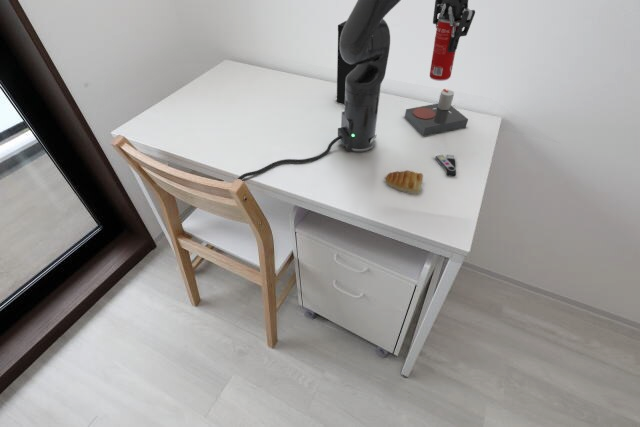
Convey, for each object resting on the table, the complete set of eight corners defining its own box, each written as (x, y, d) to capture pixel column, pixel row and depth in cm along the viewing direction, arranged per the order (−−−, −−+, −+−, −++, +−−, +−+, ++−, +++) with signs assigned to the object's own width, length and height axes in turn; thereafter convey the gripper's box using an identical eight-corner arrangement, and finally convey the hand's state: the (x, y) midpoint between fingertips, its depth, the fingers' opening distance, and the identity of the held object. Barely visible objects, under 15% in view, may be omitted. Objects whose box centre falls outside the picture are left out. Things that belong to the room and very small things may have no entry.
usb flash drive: (455, 176, 89) (456, 173, 88) (434, 174, 90) (435, 171, 89) (454, 157, 95) (455, 154, 94) (434, 155, 96) (435, 152, 95)
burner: (419, 120, 104) (420, 120, 104) (409, 110, 108) (409, 109, 108) (439, 117, 105) (439, 116, 105) (428, 107, 110) (428, 106, 110)
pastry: (382, 190, 86) (384, 178, 83) (386, 174, 90) (388, 162, 88) (420, 196, 84) (423, 184, 81) (422, 179, 89) (425, 168, 86)
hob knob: (452, 108, 108) (457, 93, 105) (442, 111, 108) (446, 95, 104) (445, 103, 111) (449, 87, 107) (434, 105, 110) (438, 90, 106)
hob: (423, 136, 103) (425, 127, 101) (402, 116, 112) (404, 107, 110) (468, 127, 106) (471, 118, 104) (445, 108, 115) (447, 99, 113)
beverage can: (450, 82, 94) (466, 23, 83) (426, 80, 95) (439, 21, 84) (449, 73, 98) (464, 16, 87) (426, 72, 99) (438, 15, 88)
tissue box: (355, 107, 116) (361, 16, 96) (336, 102, 119) (337, 12, 99) (366, 98, 121) (373, 9, 101) (347, 93, 124) (350, 6, 104)
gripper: (495, -24, 75) (472, 55, 87) (458, -35, 85) (442, 37, 97) (466, -21, 73) (446, 59, 85) (432, -33, 83) (418, 40, 95)
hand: (444, 47), depth 91 cm, fingers closed on beverage can, 5 cm apart
